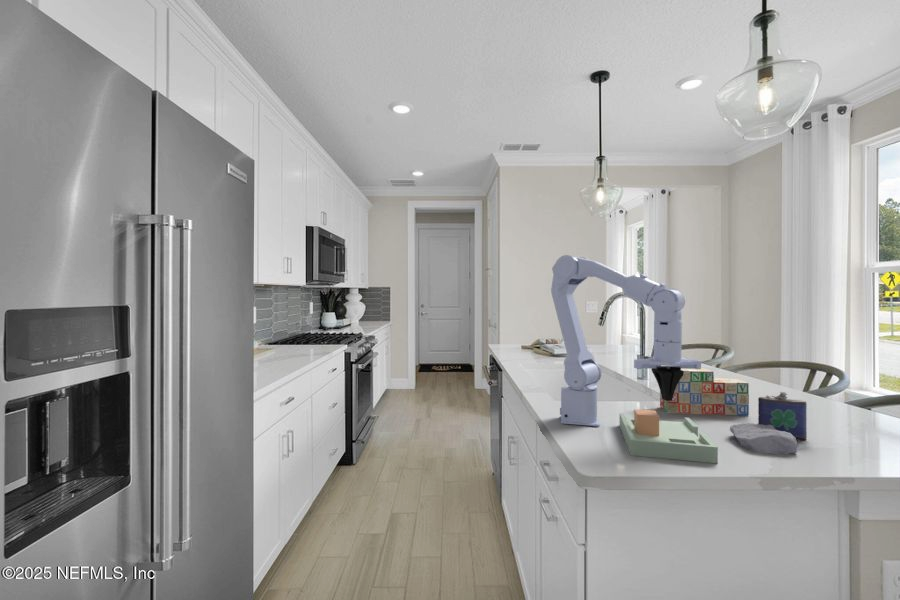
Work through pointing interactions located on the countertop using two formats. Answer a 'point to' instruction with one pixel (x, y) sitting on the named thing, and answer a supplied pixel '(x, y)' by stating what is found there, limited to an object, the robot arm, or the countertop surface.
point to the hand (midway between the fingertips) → (666, 399)
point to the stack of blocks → (708, 395)
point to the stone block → (764, 438)
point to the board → (670, 441)
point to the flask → (783, 414)
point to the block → (646, 422)
